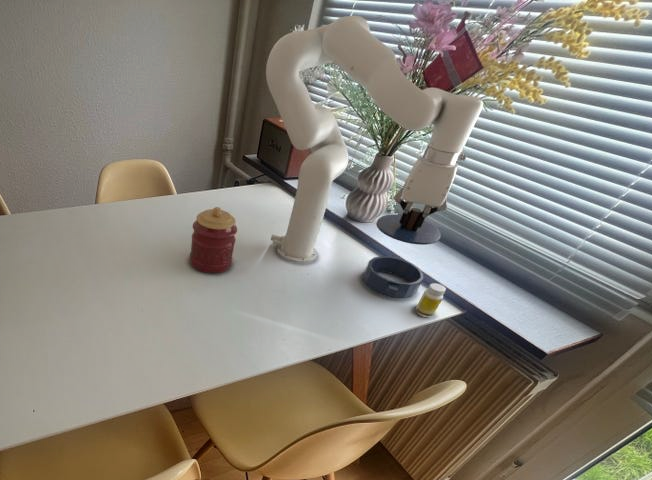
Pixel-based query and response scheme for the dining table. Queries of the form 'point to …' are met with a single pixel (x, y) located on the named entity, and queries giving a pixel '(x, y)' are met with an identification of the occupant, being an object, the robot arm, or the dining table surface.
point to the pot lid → (408, 229)
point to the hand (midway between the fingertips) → (408, 227)
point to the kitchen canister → (213, 241)
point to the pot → (389, 286)
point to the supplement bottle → (430, 300)
